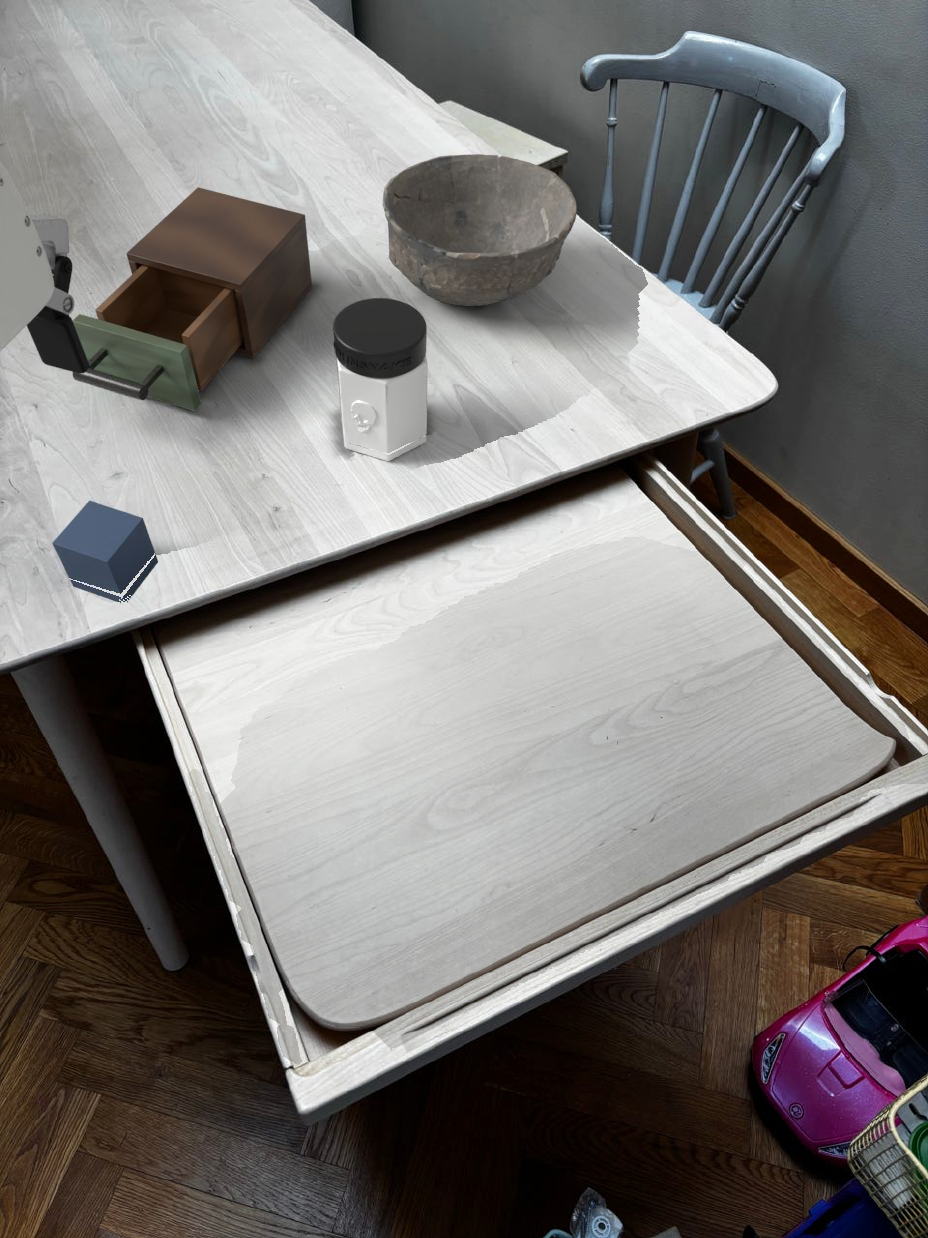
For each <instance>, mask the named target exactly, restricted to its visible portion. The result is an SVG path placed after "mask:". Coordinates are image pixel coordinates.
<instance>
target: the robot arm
mask: <svg viewBox="0 0 928 1238" xmlns="http://www.w3.org/2000/svg"><path fill="white" fill-rule="evenodd" d="M2 162H3V161H1V160H0V352H2V351H3V350H4V349H5V348H6V347H7V346H8V345H9V344H10V343H11V342H12V341H13V340H14V339H15V338H16V337H17V336H18V335H19V334H20V333H21V332H22V331H23V330H24V329H25V328H26V327H27V330H28V333H29V335H30V337H31V339H32V342H33V343H34V346H35V349H36V350H37V353H38V355H39V357H40V360H41V362H42V363H43V364H45V365H47V366H49V367H53V368H57V369H61V370H65V371H69V372H72V373H73V372H76V373H85V372H86V371H87V370H88V369H89V367H90V365H89V363H88V360H87V357H86V355H85V352H84V349H83V347H82V344H81V342H80V339H79V336H78V334H77V331H76V329H75V326H74V323H73V318H72V316H71V317H70V315H71V314H72V313H73V311H74V309H75V306H76V305H75V299H74V297H73V295H71V294H70V293H69V292H70V287H71V286H70V285H71V281H72V274H73V262H72V259H71V258H70V257H68V254H69V253H70V236H69V235H70V233H69V223H68V221H67V220H66V218H62V217H57V216H53V215H50V214H49V215H48V214H31V215H30V213H29V211H28V209H27V207H26V204H25V203H24V201H23V199H22V197H21V195H20V193H19V191H18V189H17V187H16V185H15V184H14V182H13V180H12V178H11V176H10V174H9V172H8V171H7V169H6V167H5V165H4V164H3V163H2Z"/></svg>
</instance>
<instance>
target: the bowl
mask: <svg viewBox="0 0 928 1238" xmlns="http://www.w3.org/2000/svg"><path fill="white" fill-rule="evenodd" d="M381 205H382V208H383V211H384V217H385V219H386V221H387V231H388V233H387V234H388V259H389V261H390V263H391V264H392V265H393V267H396V269H398V270H399V271H400V272H401V274H402V275H403V276H404V277H405V278H406V279H407V280H408V281H409V282H410V283H411V285H413V286H414V287H416V288H417V289H419V290H420V291H421V292H422V293H423V294H425V295H426V296H428V297H430V298H432V299H434V300H436V301H438V302H442V303H445V304H449V305H454V306H455V305H456V306H463V307H475V306H478V307H482V306H487V305H491V304H495V303H500V302H504V301H507V300H511V299H513V298H516V297H518V296H520V295H522V294H524V293H525V292H528V291H530V290H532V289H533V288H535V287H536V286H538V285H539V284H540V283H541V282H543V281H544V280H545V279H546V278H547V277H548V276H550V274H552V273H553V271H554V269H555V268H556V264H557V262H558V260H559V259H560V257H561V254H562V253H561V252H562V247H563V246H564V243H565V240H566V239H567V237H568V236H569V234H570V233H571V231H572V229H573V228H574V227H573V226H574V225H575V222H576V219H577V202H576V197H575V195H574V194H573V190H572V188H571V187H570V186H569V185H568V184H567V183H566V182H565V181H564V180H563V179H562V178H560V177H559V175H558V174H557V173H555V172H554V171H552V170H550V169H548V168H545V167H543V166H540V165H539V164H536V163H532V162H530V161H525V160H521V159H518V158H512V157H508V156H504V155H501V156H498V155H497V154H481V153H479V154H478V153H475V154H472V153H471V154H448V155H440V156H439V155H438V156H437V157H432V158H430V159H427V160H424V161H421V162H418V163H415V164H413V165H410V166H408V167H407V168H405V169H403V170H402V171H400V172H399V173H398V174H396V175H394V176H393V177H392V178H390V179H389V180H388V181H387V183H386V184H385V186H384V187H383V194H382V204H381Z"/></svg>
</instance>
